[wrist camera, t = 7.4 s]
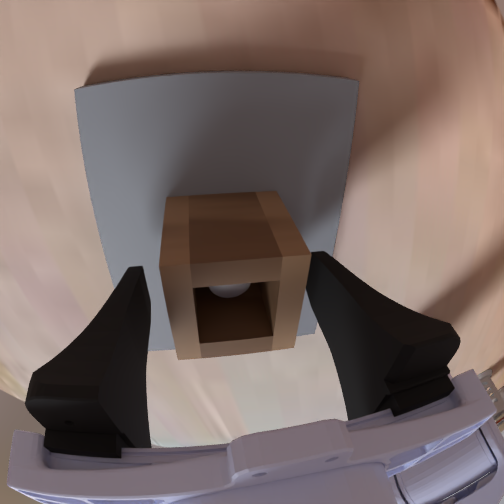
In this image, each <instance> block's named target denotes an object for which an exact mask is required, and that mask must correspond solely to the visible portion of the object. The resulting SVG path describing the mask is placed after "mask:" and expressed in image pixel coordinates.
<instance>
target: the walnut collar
mask: <svg viewBox="0 0 504 504" xmlns="http://www.w3.org/2000/svg"><path fill="white" fill-rule="evenodd" d="M311 255H312V254H311V252H310V251H309V249H308V247H307V245H306V243H305V241H304V240H303V238H302V236H301V234H300V232H299V230H298V229H297V227H296V225H295V223H294V221H293V219H292V218H291V216H290V214H289V212H288V210H287V209H286V207H285V205H284V203H283V202H282V200H281V198H280V196H279V194H278V193H277V191H263V192H240V193H221V194H205V195H190V196H176V197H166V203H165V212H164V220H163V229H162V238H161V248H160V258H159V271H160V276H161V282H162V287H163V292H164V297H165V302H166V307H167V312H168V317H169V322H170V327H171V331H172V336H173V340H174V345H175V349H176V353H177V357H178V360H185V359H198V358H210V357H221V356H231V355H240V354H249V353H257V352H265V351H273V350H281V349H288V348H294V345H295V340H296V335H297V330H298V325H299V320H300V315H301V310H302V305H303V300H304V294H305V289H306V283H307V278H308V272H309V267H310V261H311ZM245 283H251V284H250V286H249V288H248V289H247V290H246V291H245V292H244V293H243V294H241V295H239V296H236V297H232V298H223V297H219V296H217V295H215V294H214V293H213V292H212V291H211V290H210V288H209V286H221V285H233V284H245Z"/></svg>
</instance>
